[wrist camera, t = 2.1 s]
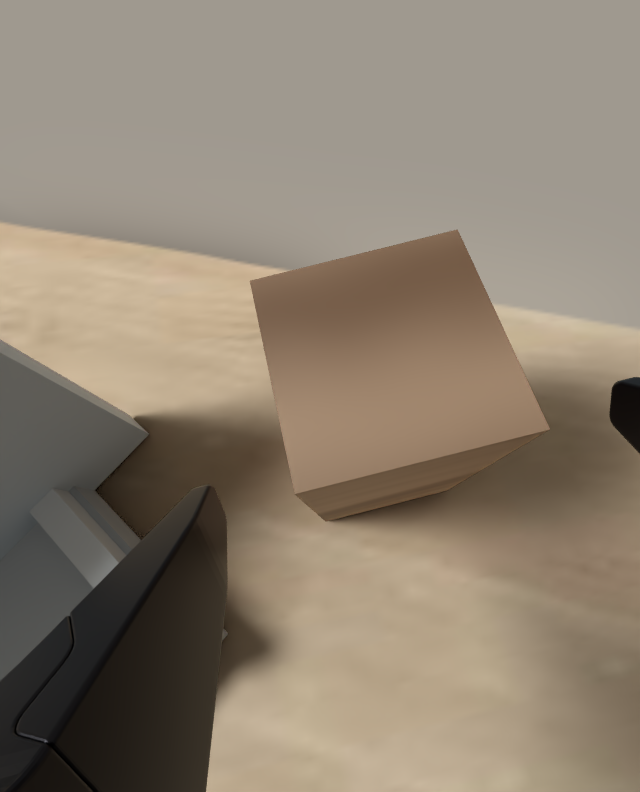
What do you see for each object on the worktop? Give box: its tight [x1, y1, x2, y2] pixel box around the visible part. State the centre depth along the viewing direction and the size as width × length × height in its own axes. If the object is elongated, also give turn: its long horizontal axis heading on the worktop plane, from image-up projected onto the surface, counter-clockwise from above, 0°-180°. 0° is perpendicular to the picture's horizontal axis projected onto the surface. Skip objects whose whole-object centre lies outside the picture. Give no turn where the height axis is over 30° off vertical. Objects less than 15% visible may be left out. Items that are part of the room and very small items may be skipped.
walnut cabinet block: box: [250, 230, 550, 521], centre depth 14 cm, size 6×6×10 cm
